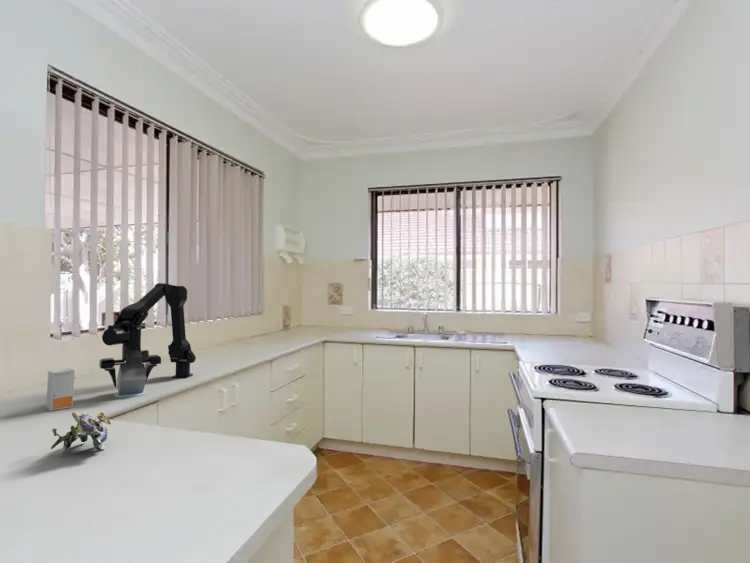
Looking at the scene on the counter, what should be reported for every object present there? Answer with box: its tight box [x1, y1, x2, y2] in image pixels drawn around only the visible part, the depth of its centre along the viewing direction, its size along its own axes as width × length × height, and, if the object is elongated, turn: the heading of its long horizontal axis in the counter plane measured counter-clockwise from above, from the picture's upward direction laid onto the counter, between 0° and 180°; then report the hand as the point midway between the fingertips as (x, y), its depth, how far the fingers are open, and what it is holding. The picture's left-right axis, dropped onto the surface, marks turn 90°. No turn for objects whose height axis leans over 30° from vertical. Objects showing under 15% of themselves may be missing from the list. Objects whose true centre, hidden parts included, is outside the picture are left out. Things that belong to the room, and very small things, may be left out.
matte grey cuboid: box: [116, 363, 147, 395], centre depth 148 cm, size 8×8×7 cm
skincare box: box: [45, 368, 75, 412], centre depth 129 cm, size 6×4×12 cm
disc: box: [113, 389, 147, 399], centre depth 147 cm, size 10×10×1 cm
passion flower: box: [50, 412, 112, 455], centre depth 96 cm, size 11×11×12 cm
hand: (130, 385), depth 147 cm, fingers open, 9 cm apart
